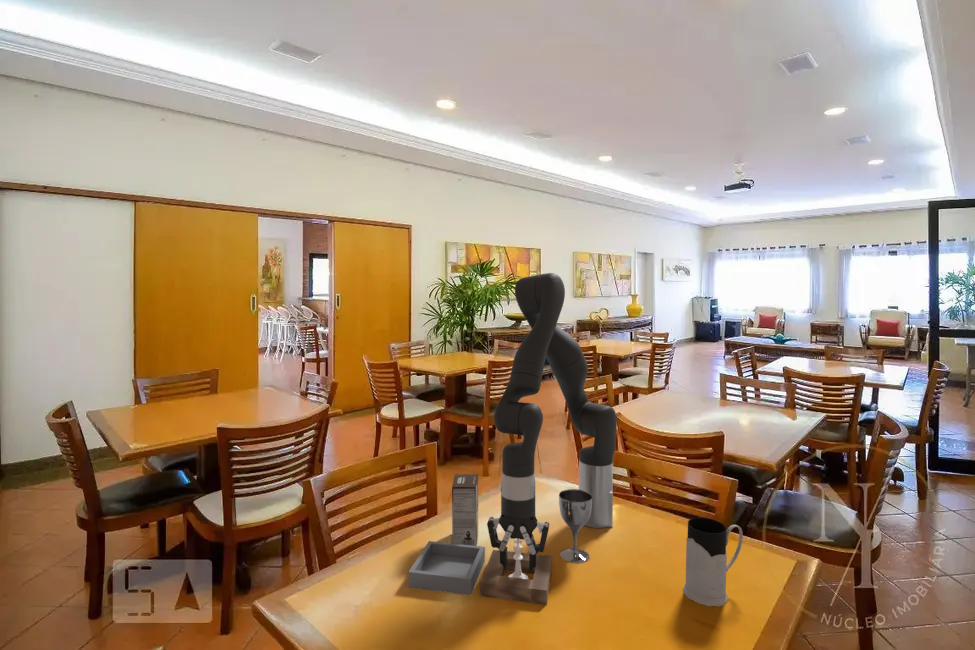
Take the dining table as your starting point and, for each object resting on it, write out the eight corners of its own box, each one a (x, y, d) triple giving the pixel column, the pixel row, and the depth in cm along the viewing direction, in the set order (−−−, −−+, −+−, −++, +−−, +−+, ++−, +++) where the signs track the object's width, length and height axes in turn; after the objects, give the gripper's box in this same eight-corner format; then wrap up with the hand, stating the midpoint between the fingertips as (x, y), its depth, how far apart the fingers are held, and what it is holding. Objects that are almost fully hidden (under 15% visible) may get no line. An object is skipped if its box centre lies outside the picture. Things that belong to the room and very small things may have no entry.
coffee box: (454, 531, 135) (454, 473, 134) (478, 532, 135) (478, 473, 134) (451, 549, 126) (451, 486, 125) (477, 549, 126) (477, 486, 125)
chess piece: (527, 589, 109) (527, 544, 108) (505, 586, 110) (505, 542, 109) (530, 576, 114) (530, 533, 113) (508, 574, 114) (508, 531, 114)
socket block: (552, 568, 117) (552, 555, 117) (546, 604, 103) (546, 590, 103) (493, 561, 120) (493, 549, 120) (480, 596, 106) (480, 582, 106)
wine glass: (553, 558, 121) (554, 498, 120) (564, 544, 128) (565, 486, 127) (585, 567, 117) (586, 504, 117) (595, 551, 125) (596, 492, 124)
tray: (484, 561, 120) (484, 546, 120) (471, 595, 107) (471, 579, 106) (429, 554, 123) (428, 541, 123) (408, 587, 109) (408, 571, 109)
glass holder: (674, 586, 110) (675, 519, 109) (724, 574, 115) (726, 509, 114) (704, 610, 101) (706, 538, 100) (757, 595, 106) (759, 526, 105)
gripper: (552, 488, 113) (551, 561, 114) (489, 483, 115) (489, 555, 116) (549, 501, 105) (549, 580, 106) (482, 496, 108) (482, 572, 109)
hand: (518, 566), depth 111 cm, fingers open, 5 cm apart
